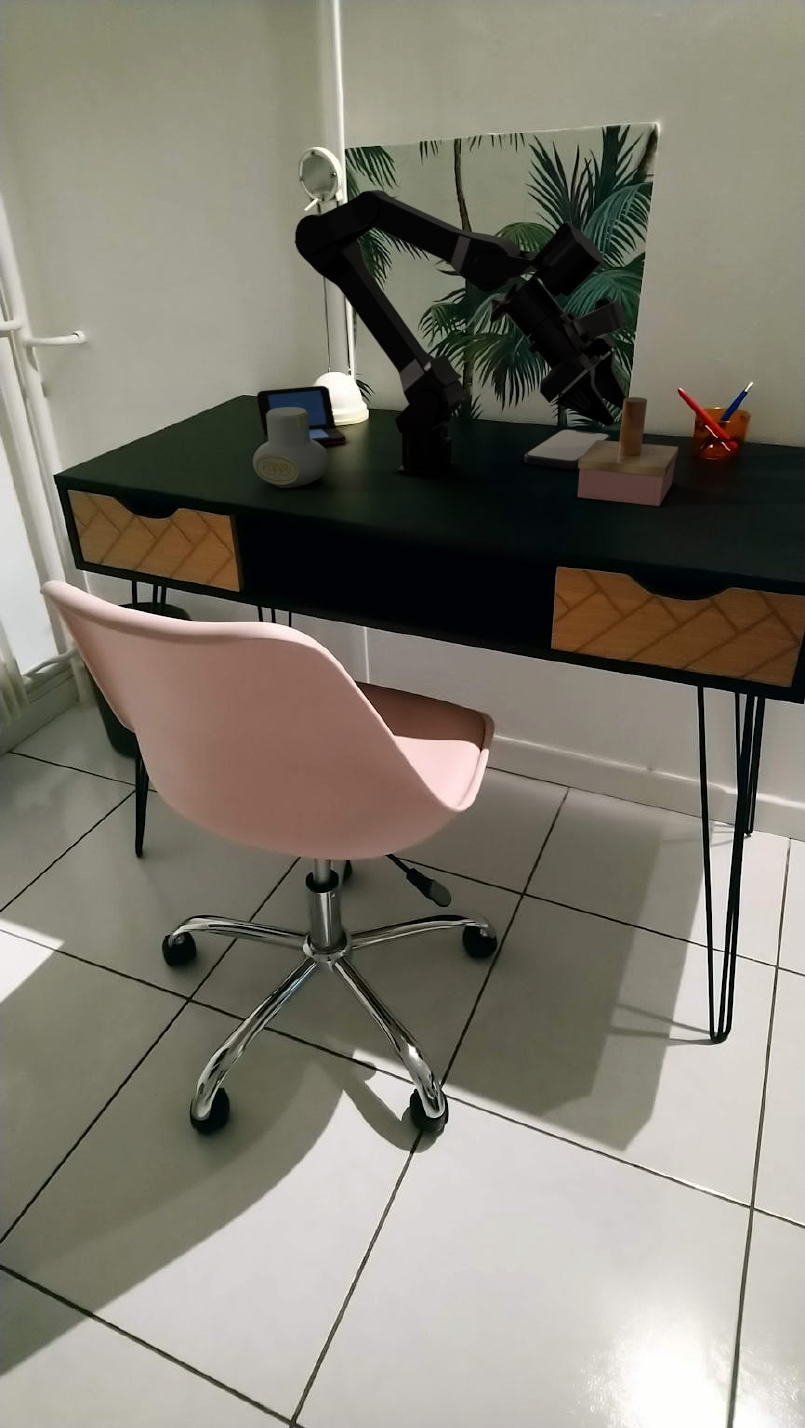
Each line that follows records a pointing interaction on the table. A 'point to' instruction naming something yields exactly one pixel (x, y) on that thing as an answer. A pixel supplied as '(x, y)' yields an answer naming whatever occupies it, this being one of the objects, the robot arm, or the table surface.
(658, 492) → the toy box
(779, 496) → the table surface
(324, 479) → the table surface
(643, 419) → the wooden peg stand
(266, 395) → the handheld console
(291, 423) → the air freshener
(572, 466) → the phone case
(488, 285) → the robot arm
